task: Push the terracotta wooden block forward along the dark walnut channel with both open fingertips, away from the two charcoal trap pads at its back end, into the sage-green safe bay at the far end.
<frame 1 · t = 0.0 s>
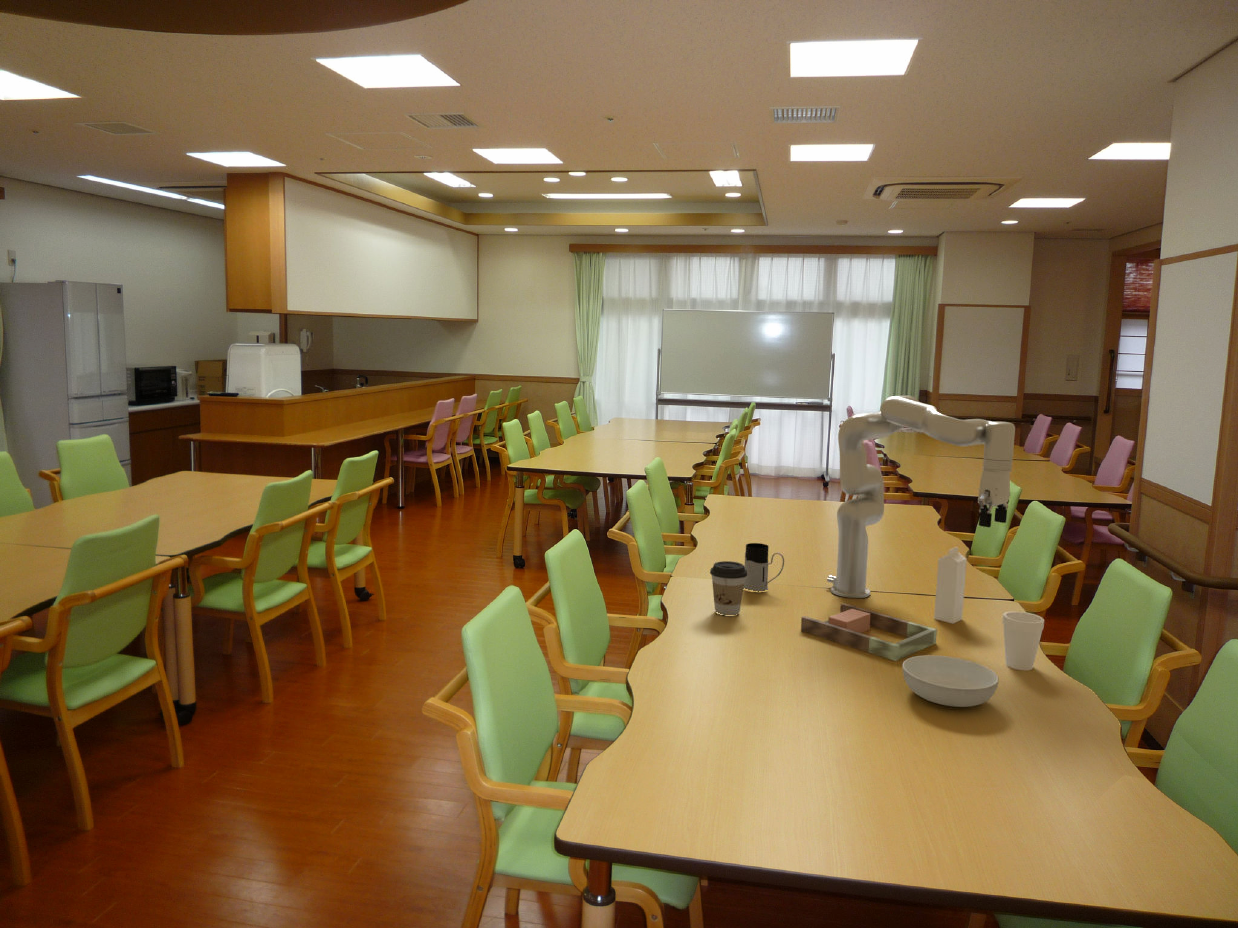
hand: (992, 524, 237), 31 cm above the table, tool pointing down, fingers open, 9 cm apart
foam cup: (1019, 666, 214), on the table
serving bowl: (947, 699, 193), on the table
milk: (948, 619, 250), on the table
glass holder: (762, 591, 276), on the table
coffee cup: (727, 613, 252), on the table
terracotta block: (848, 631, 238), on the table
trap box: (867, 636, 233), on the table
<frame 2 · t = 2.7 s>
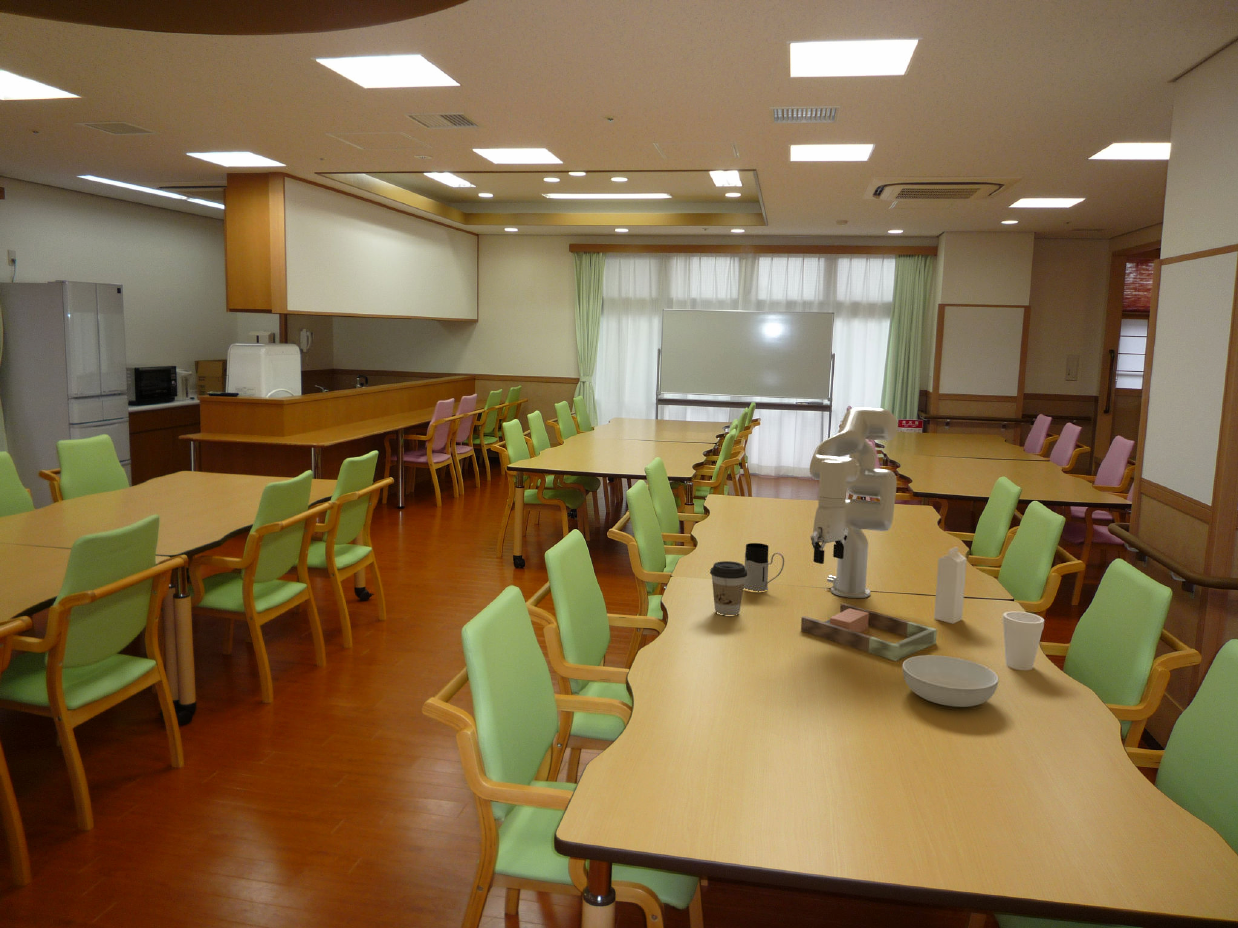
hand: (828, 560, 241), 19 cm above the table, tool pointing down, fingers open, 9 cm apart
nothing on the table moved.
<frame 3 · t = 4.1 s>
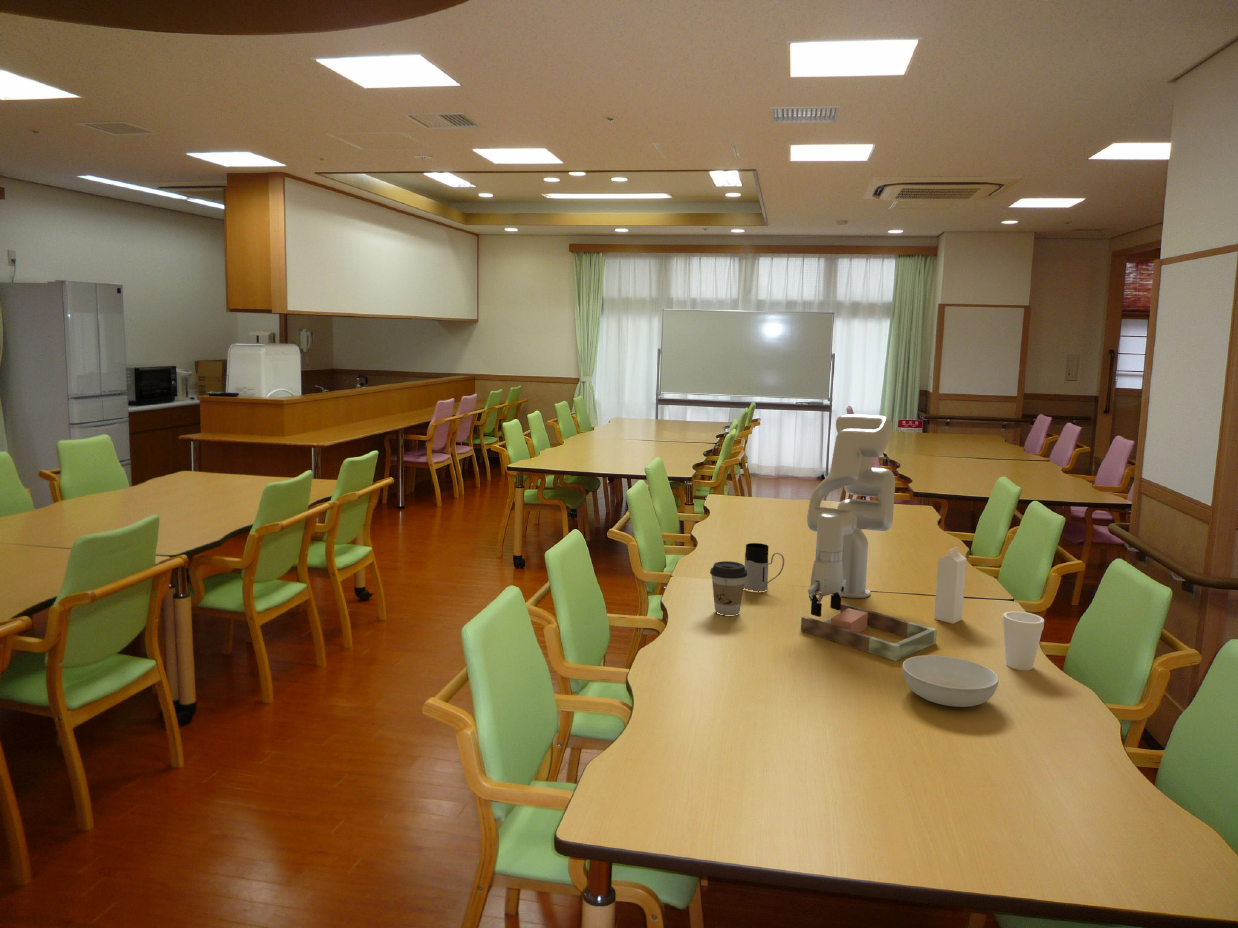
hand: (825, 612, 243), 4 cm above the table, tool pointing down, fingers open, 9 cm apart
nothing on the table moved.
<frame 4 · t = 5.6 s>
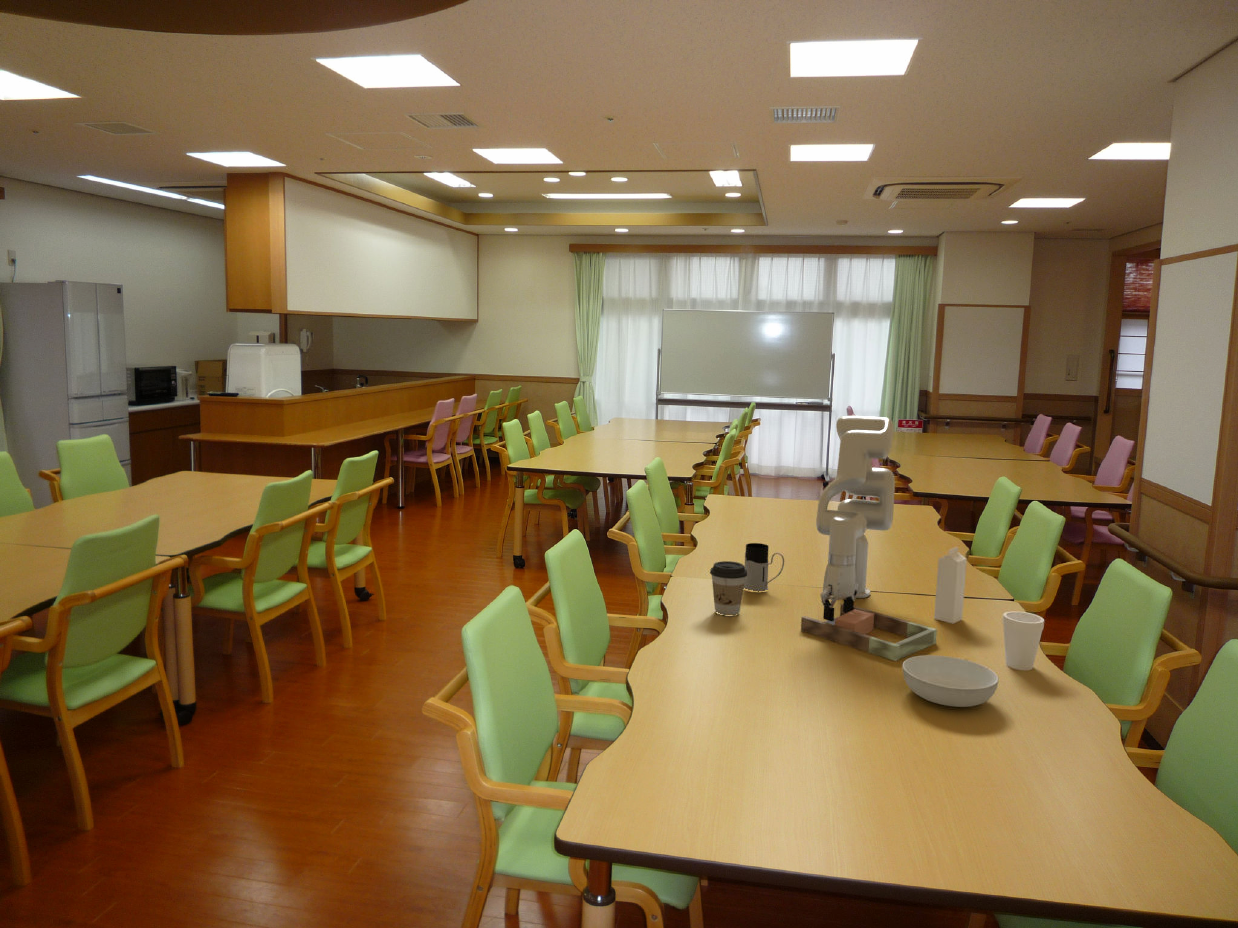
hand: (838, 616, 240), 3 cm above the table, tool pointing down, fingers open, 9 cm apart
terracotta block: (853, 632, 237), on the table
everything else where it was.
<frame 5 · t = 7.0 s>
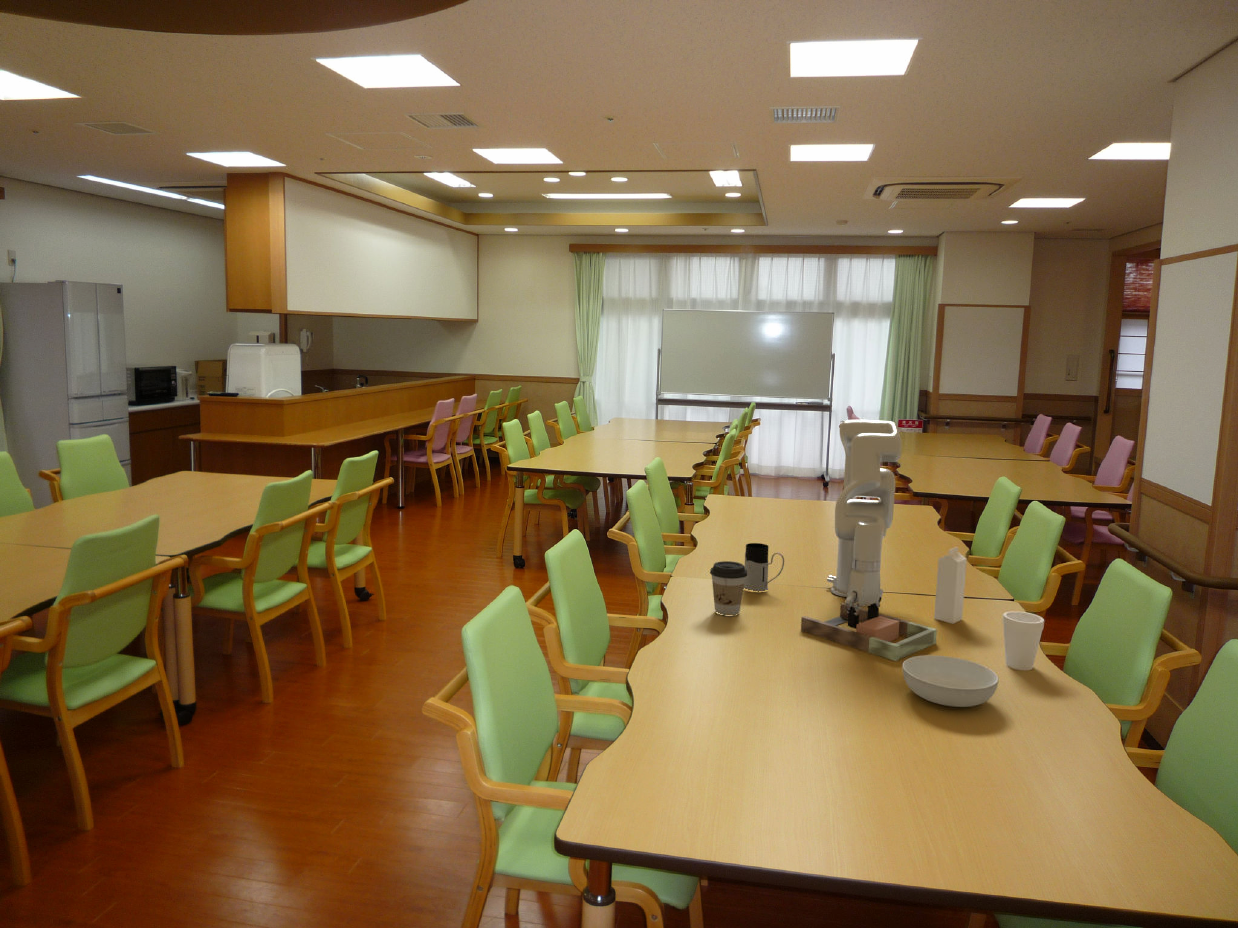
hand: (862, 623, 234), 3 cm above the table, tool pointing down, fingers open, 9 cm apart
terracotta block: (877, 639, 231), on the table, touching gripper
everything else where it was.
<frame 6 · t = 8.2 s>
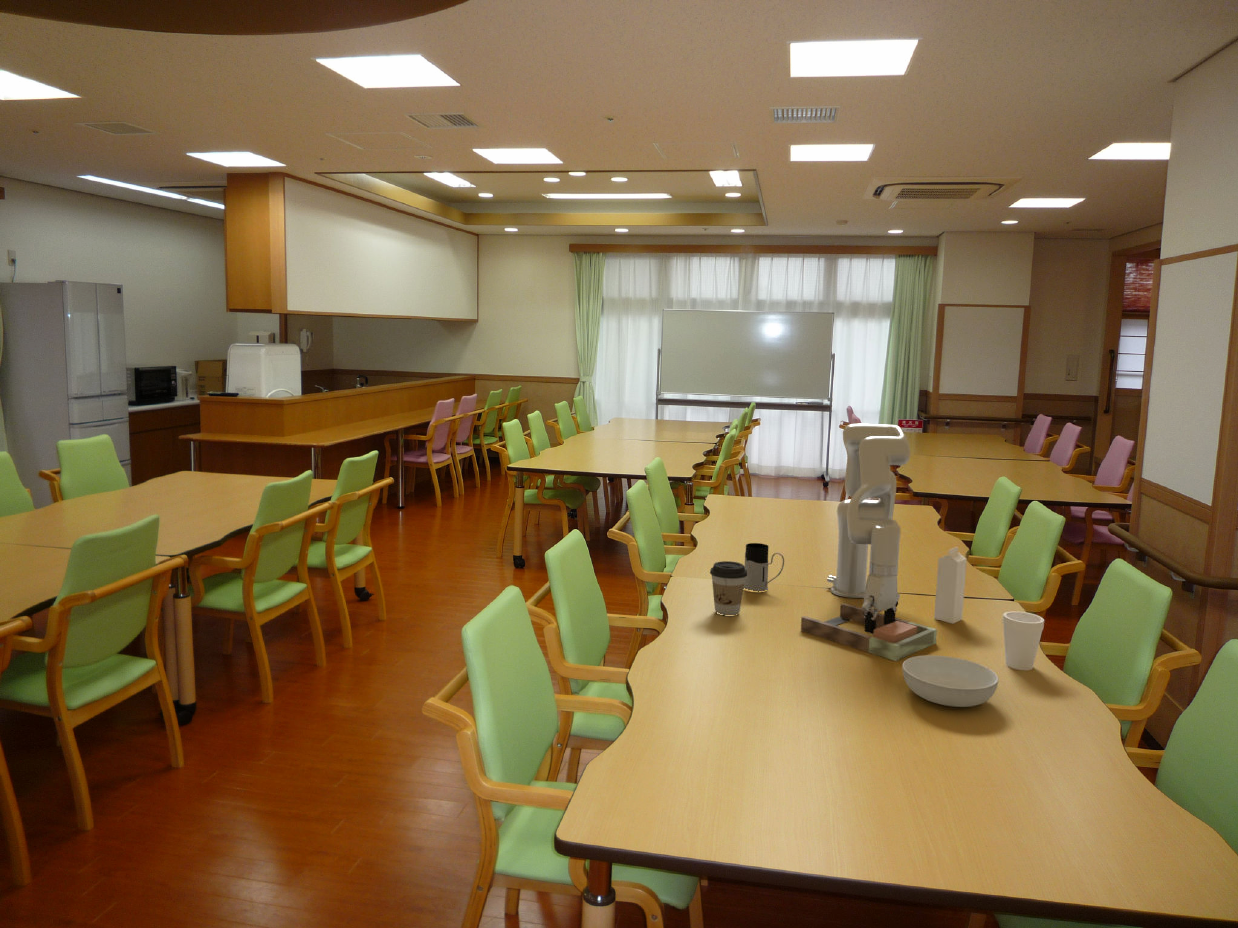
hand: (879, 628, 230), 3 cm above the table, tool pointing down, fingers open, 9 cm apart
terracotta block: (894, 645, 227), on the table
everything else where it was.
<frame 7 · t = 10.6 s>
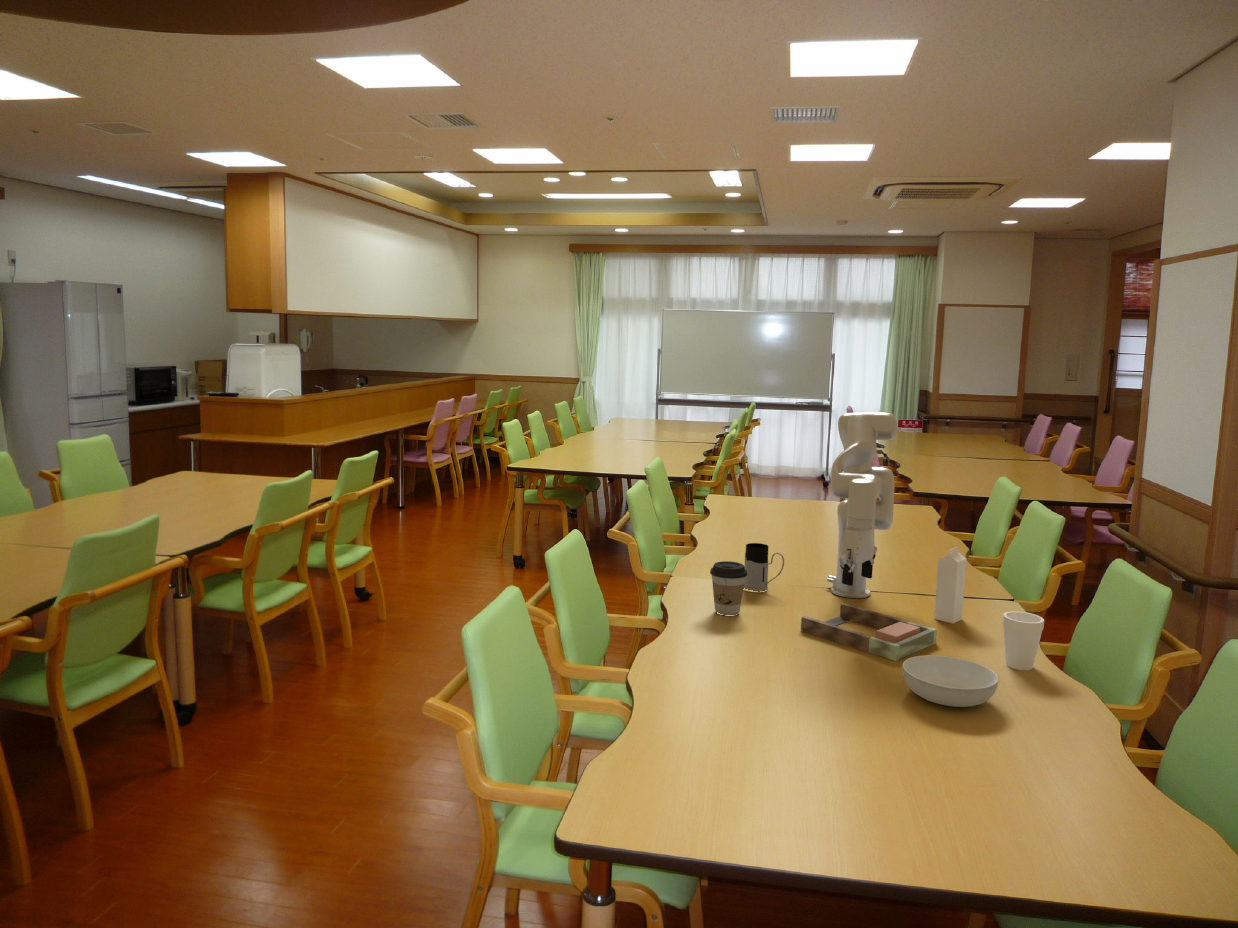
hand: (857, 580, 235), 15 cm above the table, tool pointing down, fingers open, 9 cm apart
nothing on the table moved.
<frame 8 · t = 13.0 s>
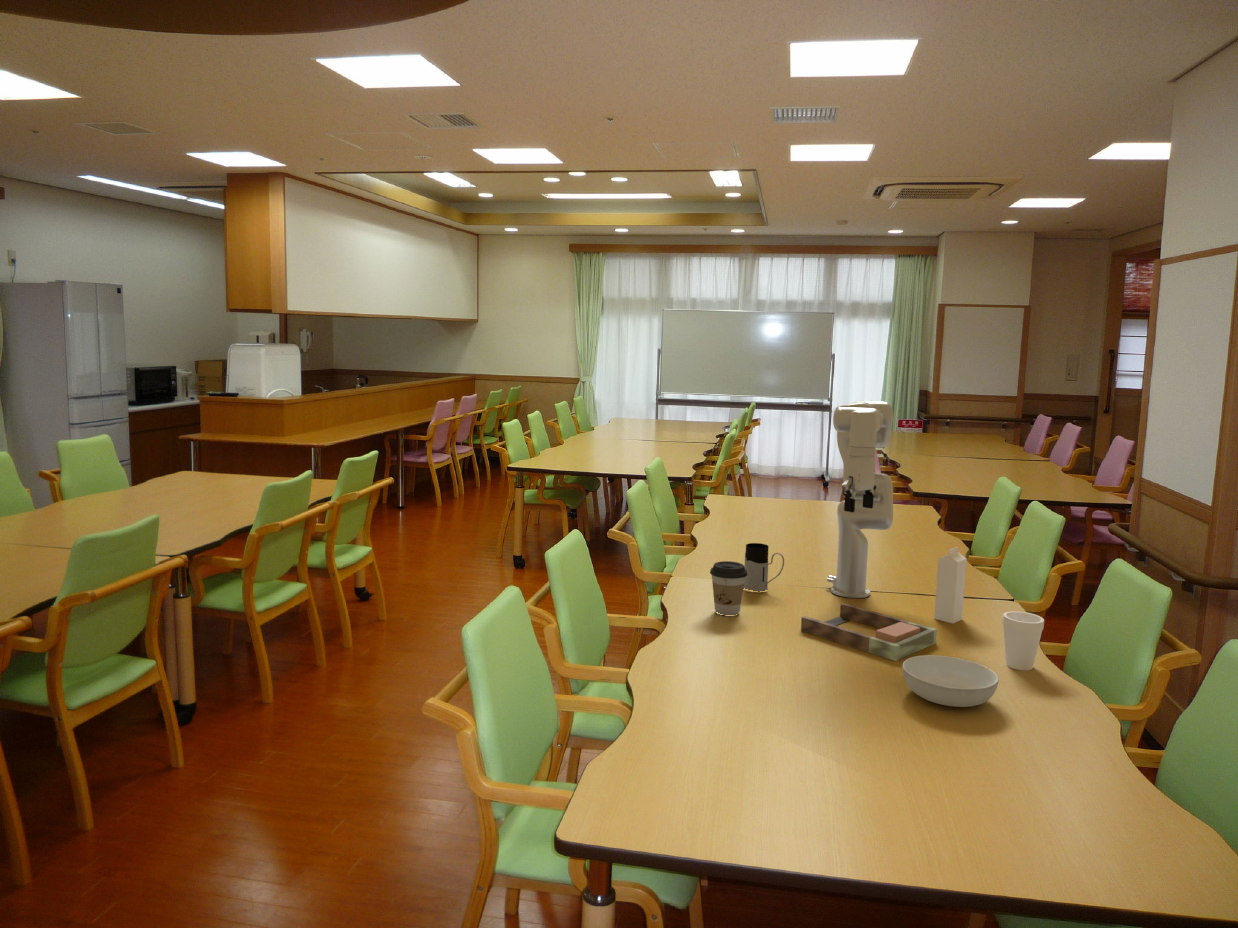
hand: (858, 509, 245), 33 cm above the table, tool pointing down, fingers open, 9 cm apart
nothing on the table moved.
at the end: terracotta block inside the target area (0.3 cm from its centre), on the table; terracotta block tilted 0° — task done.
